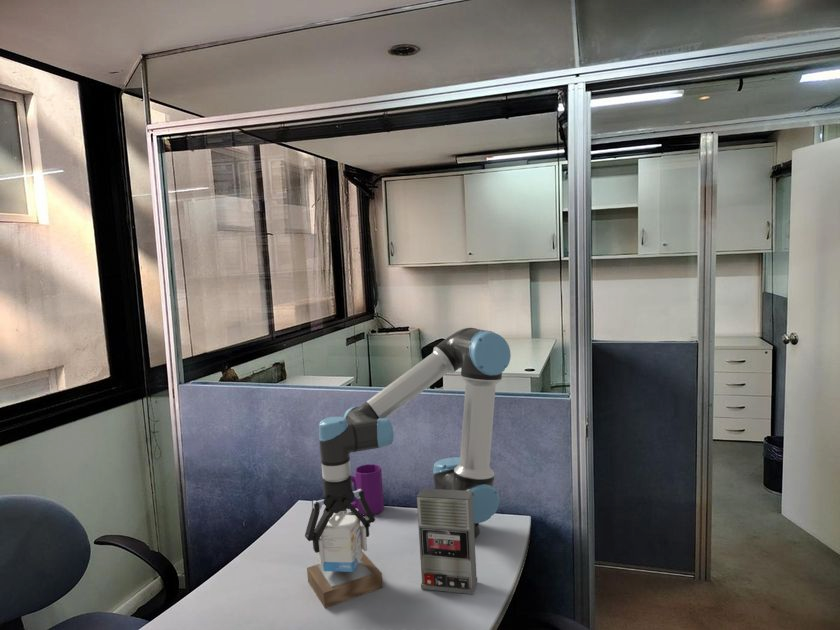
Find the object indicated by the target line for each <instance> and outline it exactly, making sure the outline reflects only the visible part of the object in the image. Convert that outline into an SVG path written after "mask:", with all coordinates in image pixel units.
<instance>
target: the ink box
mask: <svg viewBox="0 0 840 630" xmlns="http://www.w3.org/2000/svg"><path fill="white" fill-rule="evenodd" d="M360 524H361V521H360V520H359V519H358V518H357V517H356V516H355V515H354V514H350V515H345V514H344V513H343V512H342V511H340V512H338V513H335V514H334V515H332V517H331V518H330V519H329V521H328V523H327V525H326V527H325V529H324V531H323V533H322V535H321V537H320V538H321V540H322V546H323V558H324V565H323V570H324V571H338V572H354V570H355V568H356V566H357V565H358V563H359V561H360V559H361V558H362V556H363V554H362V552H363V549H362V542H361V529H360Z"/></svg>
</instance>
